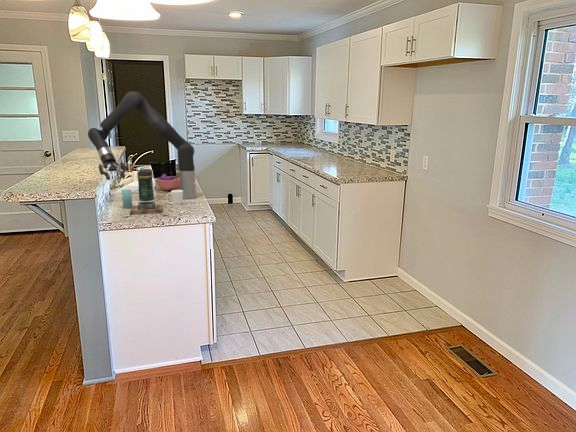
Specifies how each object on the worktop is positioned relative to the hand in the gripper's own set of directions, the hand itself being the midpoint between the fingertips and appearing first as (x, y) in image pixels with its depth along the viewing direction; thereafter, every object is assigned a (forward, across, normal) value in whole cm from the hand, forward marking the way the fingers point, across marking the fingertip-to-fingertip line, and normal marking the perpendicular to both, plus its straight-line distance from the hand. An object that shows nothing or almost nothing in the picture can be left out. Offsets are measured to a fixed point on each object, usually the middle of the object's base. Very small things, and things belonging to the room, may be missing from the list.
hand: (116, 178), depth 251 cm
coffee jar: (+10, +18, +12) cm, 24 cm away
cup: (+27, +24, -6) cm, 36 cm away
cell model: (-1, +43, +22) cm, 49 cm away
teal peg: (+19, 0, +2) cm, 19 cm away
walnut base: (+30, +4, -8) cm, 31 cm away
